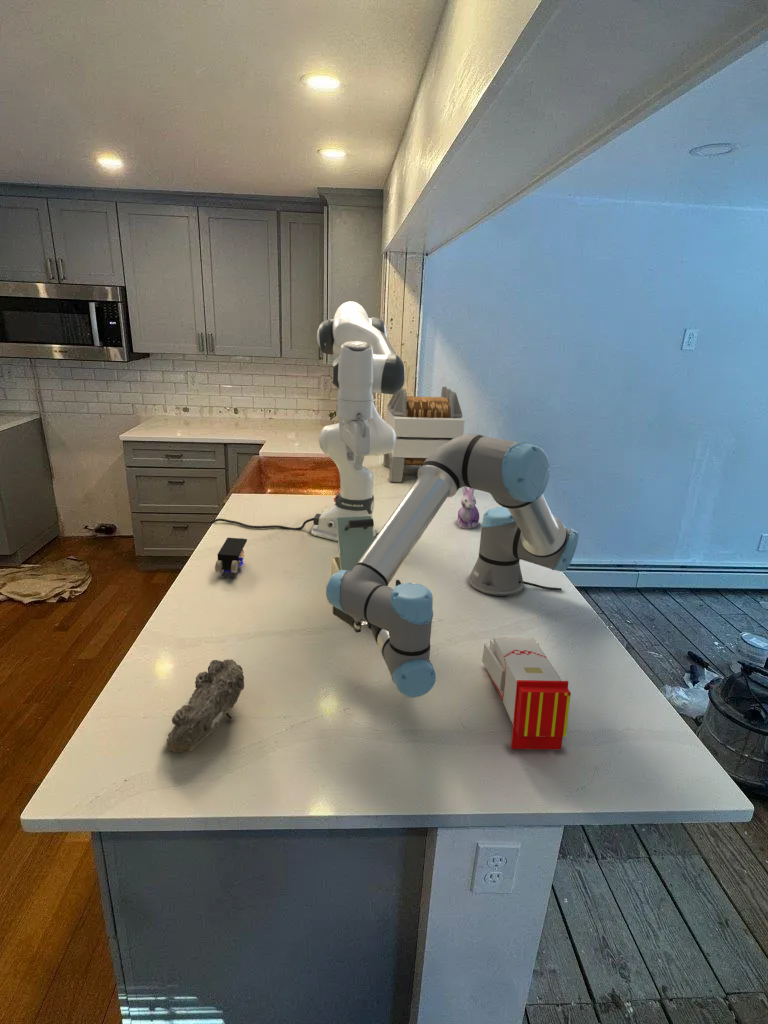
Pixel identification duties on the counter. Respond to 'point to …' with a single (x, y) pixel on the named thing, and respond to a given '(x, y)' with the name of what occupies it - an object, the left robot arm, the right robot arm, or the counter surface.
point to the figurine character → (230, 556)
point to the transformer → (420, 428)
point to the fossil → (206, 705)
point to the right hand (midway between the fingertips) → (369, 587)
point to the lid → (353, 539)
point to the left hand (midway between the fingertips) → (353, 464)
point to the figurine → (468, 510)
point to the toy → (529, 692)
